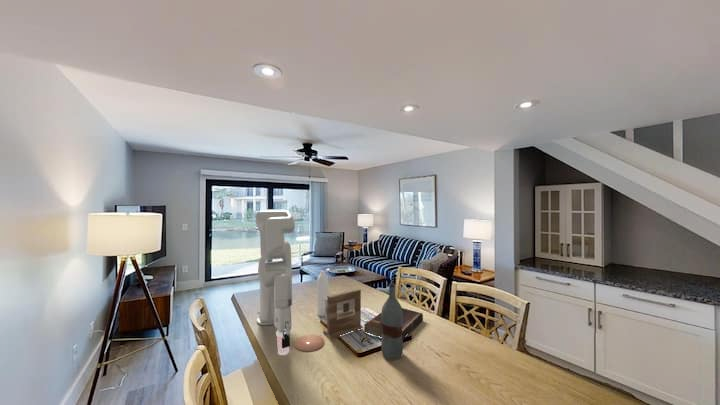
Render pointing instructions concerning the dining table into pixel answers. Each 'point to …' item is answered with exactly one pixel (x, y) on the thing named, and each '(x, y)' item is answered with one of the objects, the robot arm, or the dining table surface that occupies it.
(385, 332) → the vodka
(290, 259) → the robot arm
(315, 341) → the peach round disc
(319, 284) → the water bottle
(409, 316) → the hardback book
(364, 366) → the dining table surface
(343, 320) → the mount stand
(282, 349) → the beverage cup
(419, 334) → the dining table surface
